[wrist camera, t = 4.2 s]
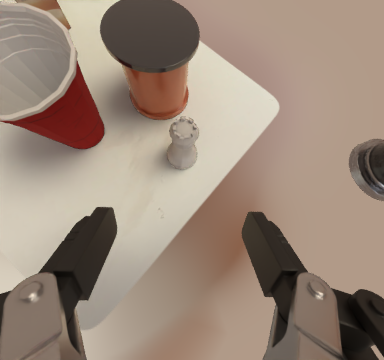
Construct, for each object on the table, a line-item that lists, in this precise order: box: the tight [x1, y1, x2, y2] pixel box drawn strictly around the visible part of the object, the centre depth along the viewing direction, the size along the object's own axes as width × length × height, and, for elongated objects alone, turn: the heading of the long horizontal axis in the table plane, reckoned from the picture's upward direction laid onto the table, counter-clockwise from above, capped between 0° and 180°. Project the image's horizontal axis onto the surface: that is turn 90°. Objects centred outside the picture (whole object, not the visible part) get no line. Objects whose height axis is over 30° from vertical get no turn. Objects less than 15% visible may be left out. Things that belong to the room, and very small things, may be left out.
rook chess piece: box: [167, 116, 199, 169], centre depth 21 cm, size 4×4×8 cm
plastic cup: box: [0, 2, 104, 149], centre depth 18 cm, size 11×11×12 cm
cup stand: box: [100, 0, 200, 120], centre depth 22 cm, size 11×11×10 cm
